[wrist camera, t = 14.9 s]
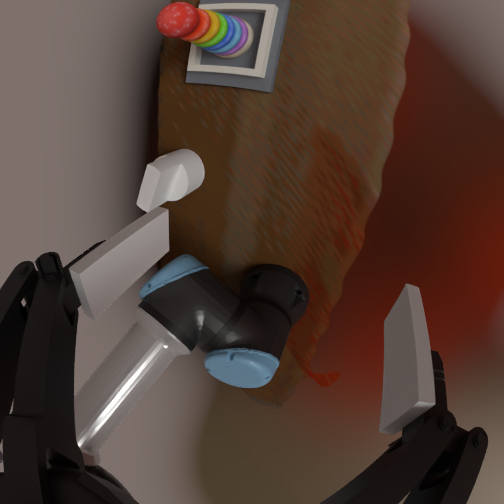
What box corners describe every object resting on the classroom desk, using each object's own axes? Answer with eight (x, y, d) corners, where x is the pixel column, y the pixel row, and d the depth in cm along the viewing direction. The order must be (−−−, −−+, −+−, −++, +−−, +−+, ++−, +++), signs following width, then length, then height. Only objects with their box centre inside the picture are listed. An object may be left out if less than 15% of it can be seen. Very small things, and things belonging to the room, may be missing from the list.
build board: (272, 92, 39) (265, 91, 36) (189, 82, 42) (179, 82, 40) (290, 1, 29) (285, -6, 26) (204, -1, 32) (195, -5, 29)
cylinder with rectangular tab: (195, 198, 55) (160, 222, 46) (162, 177, 55) (125, 196, 46) (211, 162, 50) (175, 180, 40) (175, 141, 50) (135, 154, 40)
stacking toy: (204, 50, 37) (128, 37, 22) (224, 13, 32) (155, -17, 17) (241, 65, 37) (174, 51, 22) (263, 27, 32) (206, -9, 17)
